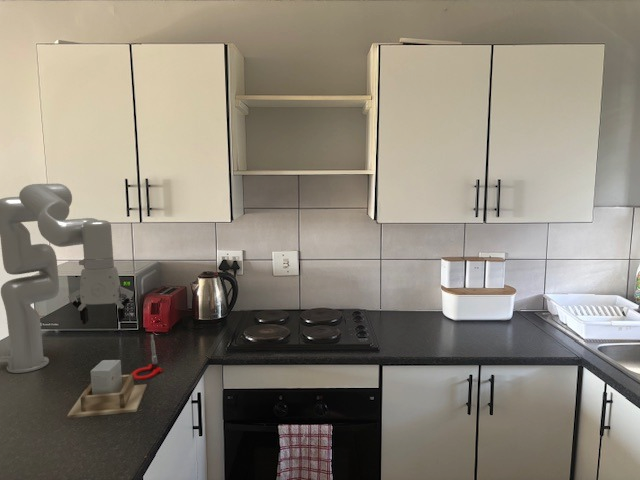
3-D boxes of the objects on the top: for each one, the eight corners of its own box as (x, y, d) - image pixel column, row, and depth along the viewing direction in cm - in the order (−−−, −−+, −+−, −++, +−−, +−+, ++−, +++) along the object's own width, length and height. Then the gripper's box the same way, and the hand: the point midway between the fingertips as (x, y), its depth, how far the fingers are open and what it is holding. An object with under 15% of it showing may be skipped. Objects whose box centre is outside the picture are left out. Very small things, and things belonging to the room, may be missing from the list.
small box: (104, 392, 141) (102, 359, 139) (123, 392, 141) (121, 359, 139) (92, 405, 133) (89, 370, 131) (111, 405, 133) (109, 370, 131)
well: (67, 418, 127) (65, 401, 127) (85, 391, 143) (84, 376, 142) (136, 411, 131) (135, 395, 130) (146, 386, 146) (145, 371, 145)
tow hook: (140, 383, 149) (165, 372, 157) (136, 345, 147) (161, 336, 155) (126, 377, 154) (150, 366, 162) (121, 340, 152) (146, 331, 160)
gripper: (61, 267, 126) (66, 327, 129) (128, 265, 129) (132, 324, 132) (71, 262, 134) (75, 319, 136) (134, 260, 137) (137, 316, 139)
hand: (103, 321), depth 134 cm, fingers open, 9 cm apart
